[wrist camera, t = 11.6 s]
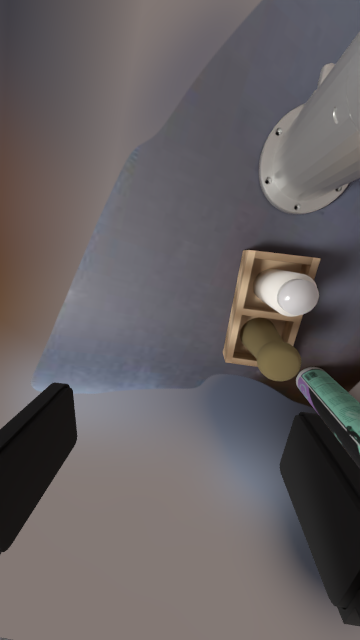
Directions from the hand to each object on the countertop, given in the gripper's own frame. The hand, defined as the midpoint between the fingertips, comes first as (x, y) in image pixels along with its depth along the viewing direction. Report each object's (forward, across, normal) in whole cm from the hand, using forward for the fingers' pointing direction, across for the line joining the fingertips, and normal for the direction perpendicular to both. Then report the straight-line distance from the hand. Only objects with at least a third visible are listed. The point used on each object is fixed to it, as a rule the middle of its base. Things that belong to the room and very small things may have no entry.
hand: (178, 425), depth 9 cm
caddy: (+28, -12, +1) cm, 30 cm away
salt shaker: (+27, -12, -3) cm, 30 cm away
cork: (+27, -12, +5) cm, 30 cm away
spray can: (+28, -24, +14) cm, 39 cm away
